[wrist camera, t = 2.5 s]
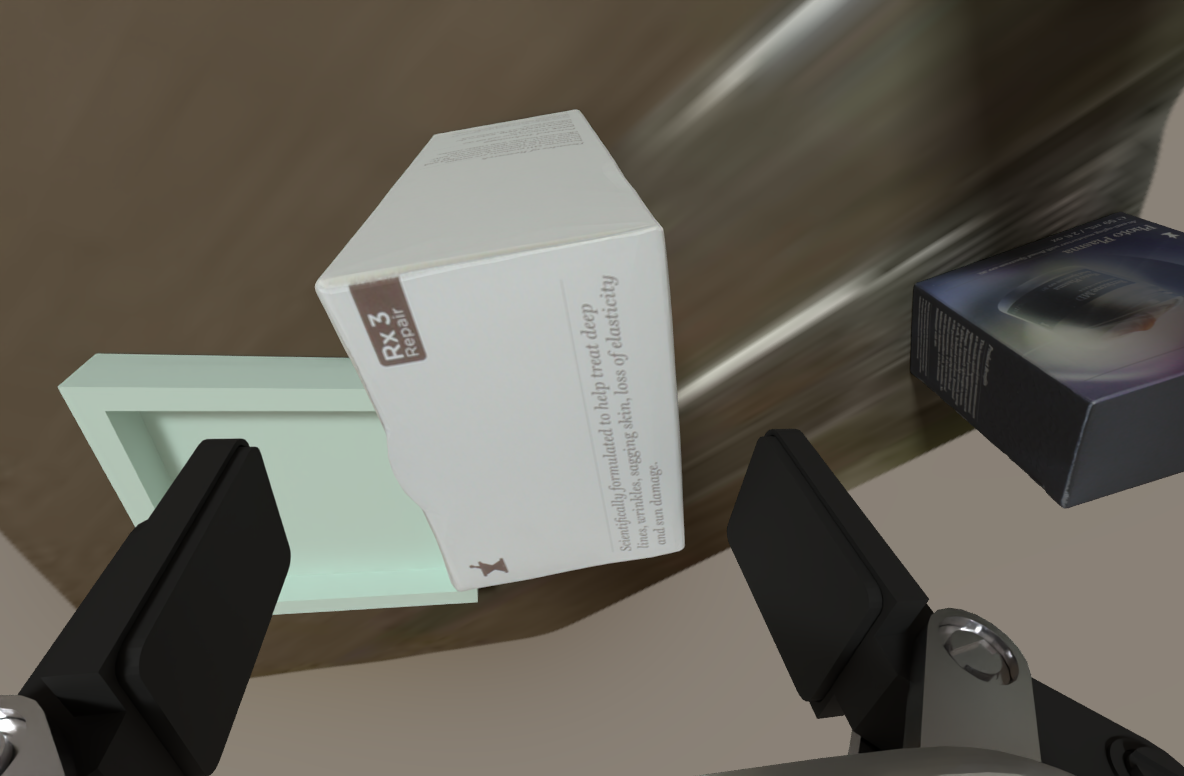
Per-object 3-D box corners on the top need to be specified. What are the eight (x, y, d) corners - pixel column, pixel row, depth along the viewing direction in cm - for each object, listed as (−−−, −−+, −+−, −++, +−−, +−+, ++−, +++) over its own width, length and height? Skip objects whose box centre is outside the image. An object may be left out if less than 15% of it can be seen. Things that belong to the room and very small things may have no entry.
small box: (1125, 199, 26) (1427, 293, 18) (1094, 310, 30) (1330, 432, 21) (910, 277, 27) (1099, 403, 18) (907, 376, 31) (1062, 517, 22)
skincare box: (604, 294, 25) (702, 561, 13) (476, 319, 25) (456, 613, 13) (576, 93, 20) (694, 223, 8) (416, 121, 20) (292, 300, 8)
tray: (475, 360, 26) (473, 390, 24) (478, 567, 35) (477, 601, 33) (96, 353, 23) (57, 386, 21) (206, 581, 32) (186, 619, 30)
